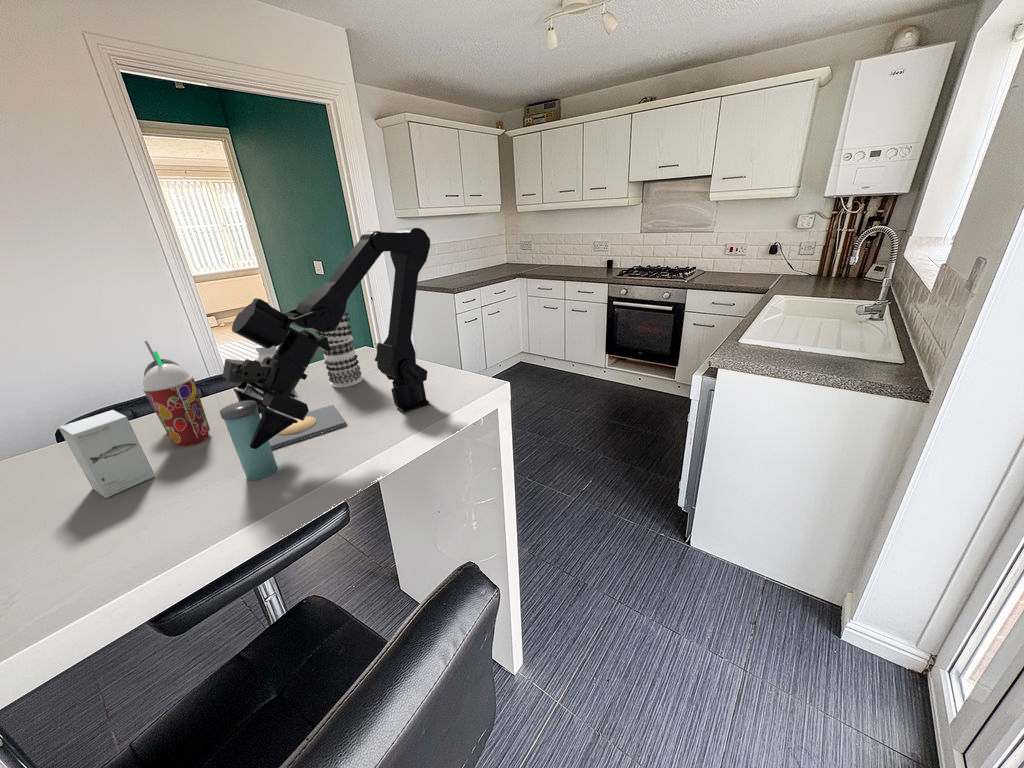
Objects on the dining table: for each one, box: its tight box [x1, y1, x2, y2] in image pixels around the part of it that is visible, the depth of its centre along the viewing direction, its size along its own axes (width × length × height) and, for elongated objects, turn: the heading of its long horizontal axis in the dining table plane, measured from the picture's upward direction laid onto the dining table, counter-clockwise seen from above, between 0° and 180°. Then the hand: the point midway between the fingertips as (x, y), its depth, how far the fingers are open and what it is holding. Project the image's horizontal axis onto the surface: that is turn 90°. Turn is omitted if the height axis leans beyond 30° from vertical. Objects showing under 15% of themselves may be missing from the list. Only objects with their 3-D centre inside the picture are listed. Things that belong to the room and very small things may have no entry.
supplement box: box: [58, 409, 156, 499], centre depth 72 cm, size 7×7×13 cm
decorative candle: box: [315, 311, 363, 388], centre depth 109 cm, size 9×9×25 cm
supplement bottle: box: [254, 344, 278, 363], centre depth 110 cm, size 7×7×13 cm
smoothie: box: [141, 350, 211, 448], centre depth 84 cm, size 8×8×20 cm
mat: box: [268, 404, 348, 450], centre depth 89 cm, size 18×12×1 cm, turn 125°
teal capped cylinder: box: [219, 400, 278, 481], centre depth 72 cm, size 5×5×13 cm
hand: (243, 440), depth 71 cm, fingers open, 9 cm apart
